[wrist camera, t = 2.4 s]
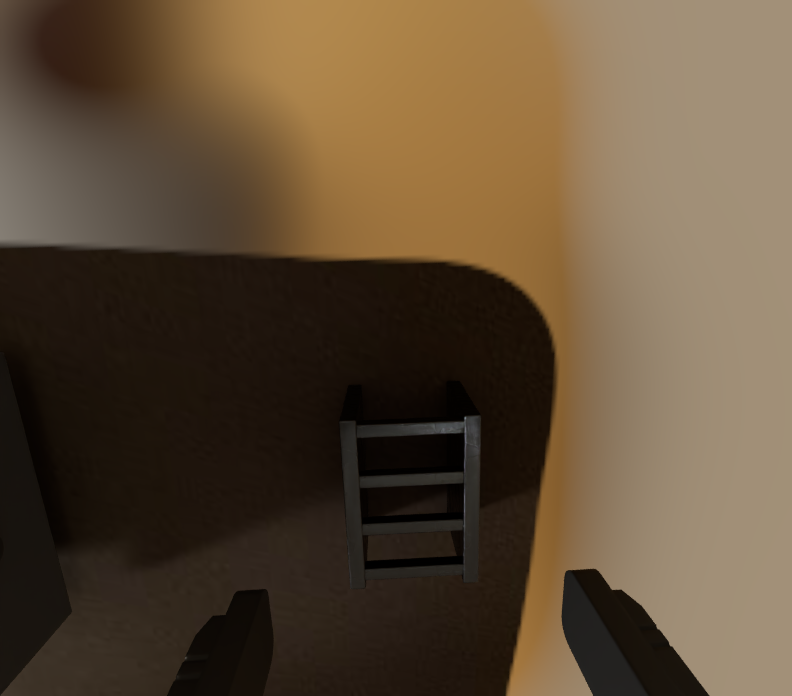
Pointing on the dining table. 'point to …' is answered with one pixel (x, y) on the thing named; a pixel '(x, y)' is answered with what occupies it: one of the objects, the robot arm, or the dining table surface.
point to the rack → (457, 475)
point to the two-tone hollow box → (24, 548)
